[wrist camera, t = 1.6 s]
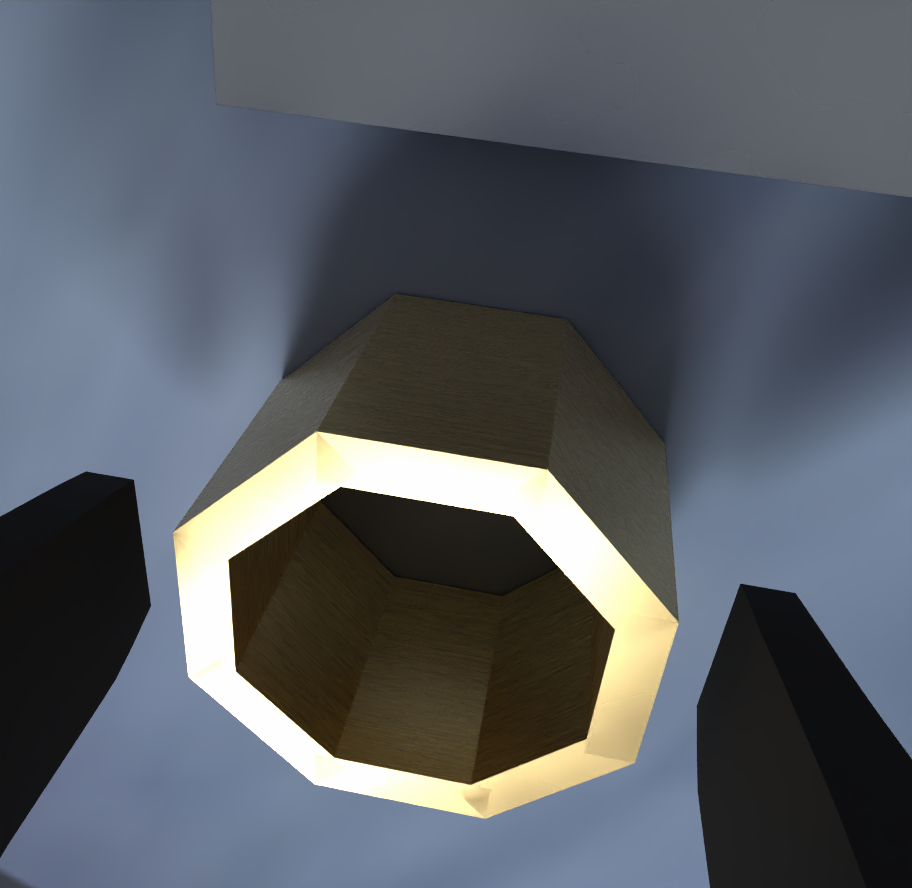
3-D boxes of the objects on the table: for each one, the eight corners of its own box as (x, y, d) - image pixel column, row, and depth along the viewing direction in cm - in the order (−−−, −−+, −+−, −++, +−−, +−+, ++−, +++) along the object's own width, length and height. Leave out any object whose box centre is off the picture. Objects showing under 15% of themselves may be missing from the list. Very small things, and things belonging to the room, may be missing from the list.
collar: (693, 337, 11) (717, 497, 8) (612, 644, 14) (609, 843, 11) (277, 275, 11) (159, 405, 9) (284, 584, 14) (197, 760, 11)
